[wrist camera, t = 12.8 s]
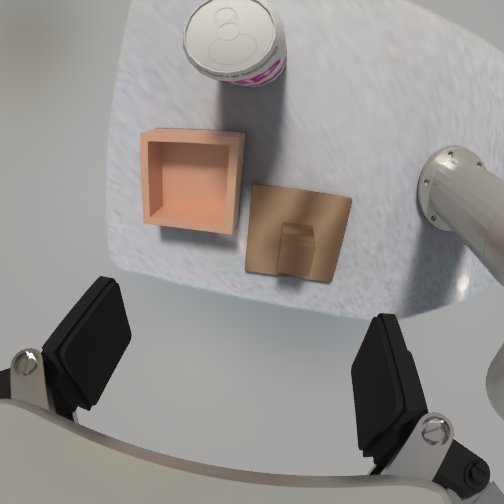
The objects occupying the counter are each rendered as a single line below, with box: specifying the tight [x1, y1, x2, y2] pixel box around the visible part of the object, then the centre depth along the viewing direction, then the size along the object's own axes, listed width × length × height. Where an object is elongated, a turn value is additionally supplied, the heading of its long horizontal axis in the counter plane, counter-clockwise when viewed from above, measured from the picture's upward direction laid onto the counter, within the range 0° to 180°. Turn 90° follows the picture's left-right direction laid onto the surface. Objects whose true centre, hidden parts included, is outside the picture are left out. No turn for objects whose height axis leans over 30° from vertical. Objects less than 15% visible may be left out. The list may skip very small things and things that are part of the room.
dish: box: [141, 128, 246, 235], centre depth 36 cm, size 12×12×5 cm
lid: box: [245, 184, 352, 282], centre depth 38 cm, size 13×13×7 cm
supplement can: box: [183, 0, 287, 88], centre depth 24 cm, size 8×8×15 cm
